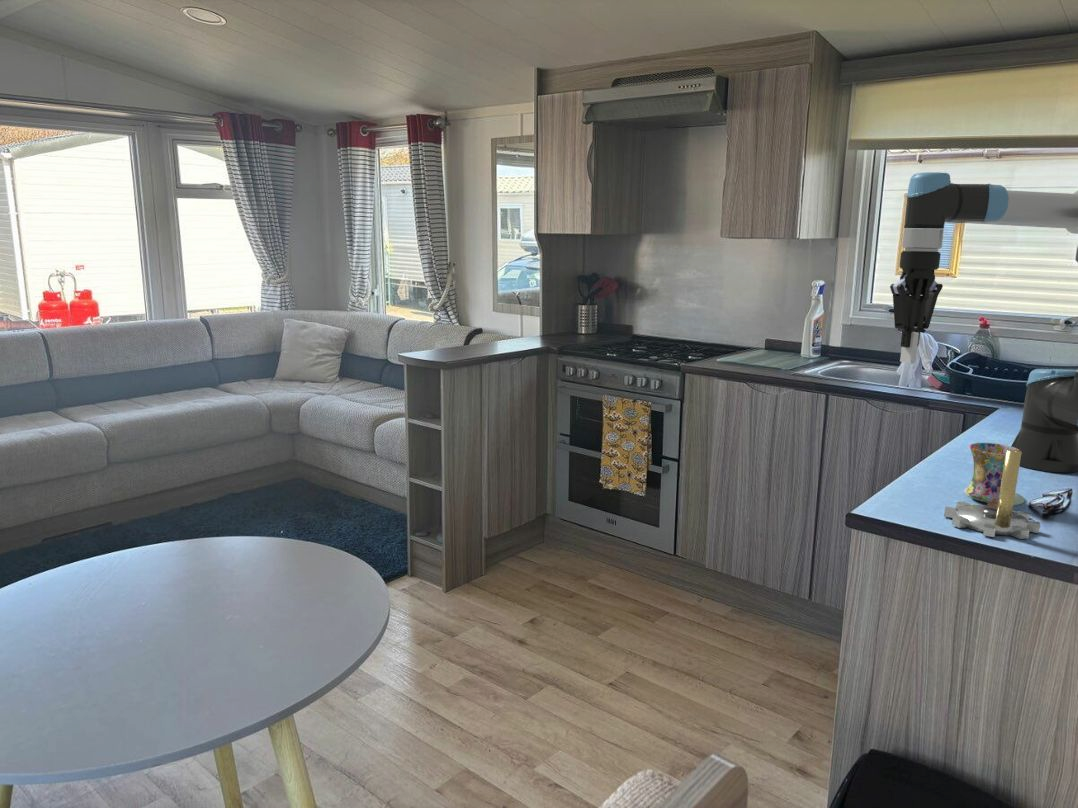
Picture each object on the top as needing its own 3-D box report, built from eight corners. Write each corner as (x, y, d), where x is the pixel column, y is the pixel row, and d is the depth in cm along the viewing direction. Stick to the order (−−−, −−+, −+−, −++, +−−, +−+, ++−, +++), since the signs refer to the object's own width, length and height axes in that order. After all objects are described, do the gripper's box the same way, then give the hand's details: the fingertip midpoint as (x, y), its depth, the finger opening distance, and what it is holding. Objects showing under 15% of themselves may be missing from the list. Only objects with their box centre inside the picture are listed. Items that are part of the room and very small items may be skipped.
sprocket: (934, 507, 159) (944, 431, 156) (1015, 512, 157) (1027, 435, 153) (962, 535, 144) (974, 452, 141) (1052, 541, 142) (1066, 457, 139)
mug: (1024, 506, 160) (1032, 455, 157) (977, 505, 160) (984, 454, 158) (992, 487, 172) (999, 439, 169) (948, 486, 172) (955, 438, 169)
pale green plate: (987, 485, 174) (987, 483, 174) (1036, 501, 164) (1036, 499, 164) (952, 491, 170) (952, 489, 169) (1000, 508, 160) (1000, 506, 160)
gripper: (928, 249, 172) (914, 358, 177) (883, 249, 166) (871, 361, 172) (958, 250, 165) (944, 363, 170) (913, 250, 160) (899, 366, 165)
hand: (907, 362), depth 171 cm, fingers closed
